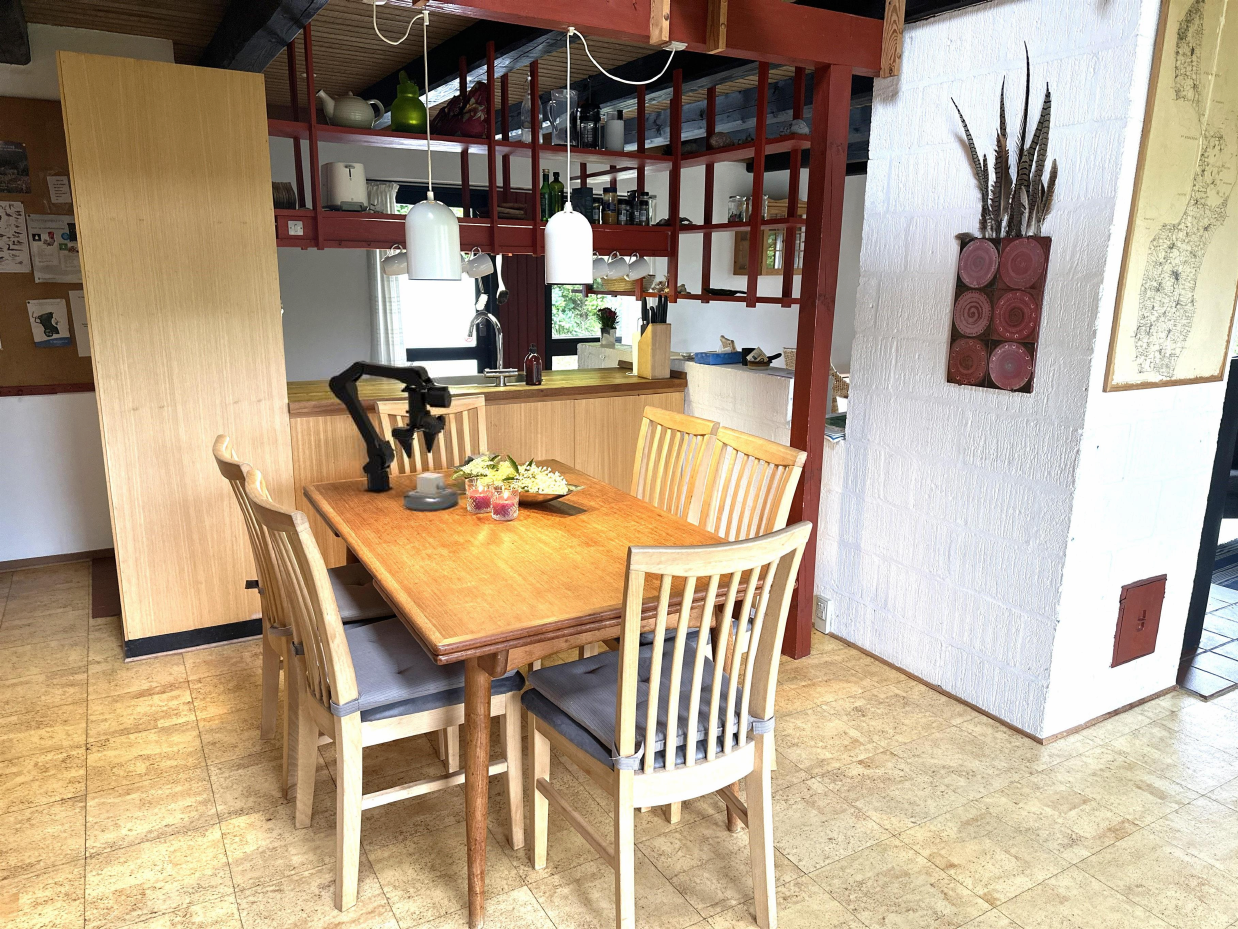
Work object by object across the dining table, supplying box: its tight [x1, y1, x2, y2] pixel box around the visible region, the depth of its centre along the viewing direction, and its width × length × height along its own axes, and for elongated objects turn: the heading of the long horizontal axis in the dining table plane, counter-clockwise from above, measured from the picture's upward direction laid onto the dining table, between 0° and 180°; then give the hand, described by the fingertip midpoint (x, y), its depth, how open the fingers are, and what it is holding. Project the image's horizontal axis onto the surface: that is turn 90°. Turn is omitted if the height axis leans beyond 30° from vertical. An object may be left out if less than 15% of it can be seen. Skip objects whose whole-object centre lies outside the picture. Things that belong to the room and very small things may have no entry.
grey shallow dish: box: [403, 487, 459, 512], centre depth 256 cm, size 16×16×4 cm
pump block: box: [416, 472, 447, 496], centre depth 254 cm, size 8×5×6 cm, turn 64°
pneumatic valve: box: [463, 452, 498, 467], centre depth 272 cm, size 6×12×12 cm, turn 117°
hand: (419, 455), depth 267 cm, fingers open, 9 cm apart
